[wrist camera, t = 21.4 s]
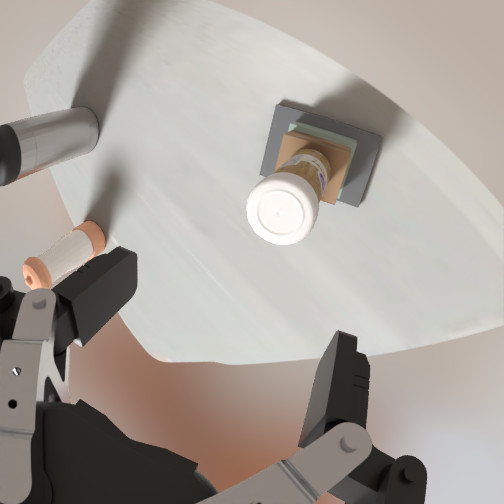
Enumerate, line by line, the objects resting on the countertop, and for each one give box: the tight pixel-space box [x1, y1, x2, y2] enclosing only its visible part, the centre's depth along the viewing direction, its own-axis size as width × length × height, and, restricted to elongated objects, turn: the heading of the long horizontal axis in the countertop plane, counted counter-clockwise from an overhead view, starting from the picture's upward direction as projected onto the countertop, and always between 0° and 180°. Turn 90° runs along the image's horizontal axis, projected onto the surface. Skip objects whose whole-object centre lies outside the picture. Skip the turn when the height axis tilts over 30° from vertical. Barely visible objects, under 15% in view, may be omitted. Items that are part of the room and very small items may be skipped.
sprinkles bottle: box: [246, 149, 331, 245], centre depth 25 cm, size 5×5×14 cm
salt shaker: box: [23, 221, 106, 290], centre depth 51 cm, size 7×7×19 cm
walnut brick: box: [274, 130, 351, 205], centre depth 33 cm, size 7×6×5 cm
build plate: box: [260, 104, 382, 207], centre depth 37 cm, size 14×10×5 cm
